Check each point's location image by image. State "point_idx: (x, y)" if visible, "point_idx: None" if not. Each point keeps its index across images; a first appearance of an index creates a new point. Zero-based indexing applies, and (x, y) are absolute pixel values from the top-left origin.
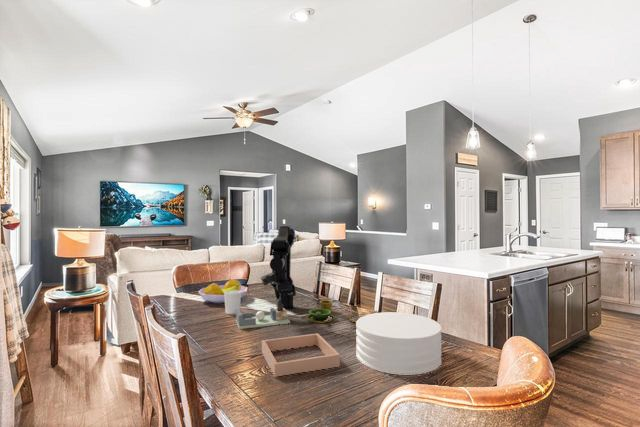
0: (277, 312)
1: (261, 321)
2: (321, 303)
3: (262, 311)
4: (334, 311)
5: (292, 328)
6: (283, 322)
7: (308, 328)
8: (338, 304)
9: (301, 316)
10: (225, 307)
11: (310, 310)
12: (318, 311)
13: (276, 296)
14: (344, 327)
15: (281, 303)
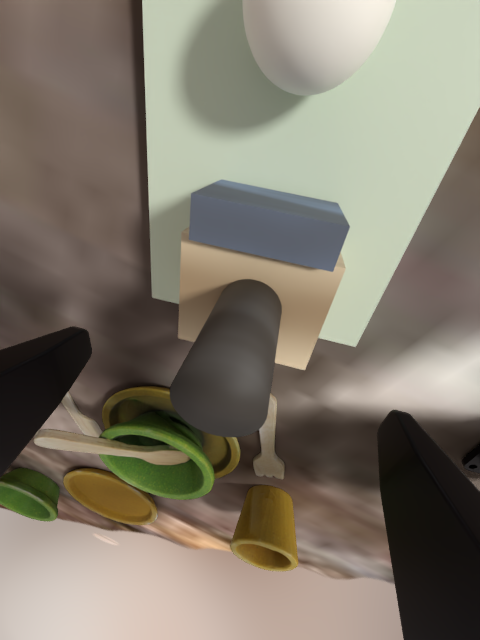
0: (181, 247)
1: None
2: (258, 536)
3: (304, 26)
4: None
5: (55, 254)
6: (152, 247)
7: (46, 326)
8: (335, 561)
9: None
10: None
11: (193, 455)
12: (199, 471)
13: (414, 451)
14: (45, 426)
15: (64, 330)
